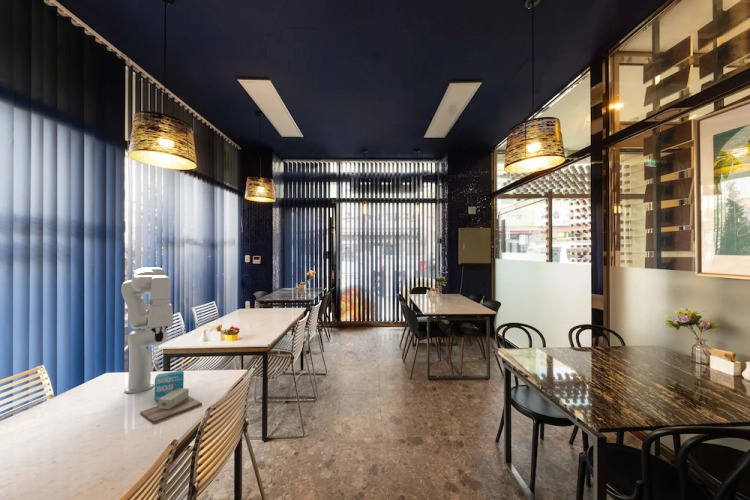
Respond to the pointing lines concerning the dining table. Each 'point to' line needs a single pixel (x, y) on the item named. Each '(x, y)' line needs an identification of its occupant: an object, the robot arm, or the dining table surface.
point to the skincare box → (173, 398)
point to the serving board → (170, 410)
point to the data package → (167, 383)
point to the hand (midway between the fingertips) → (158, 341)
